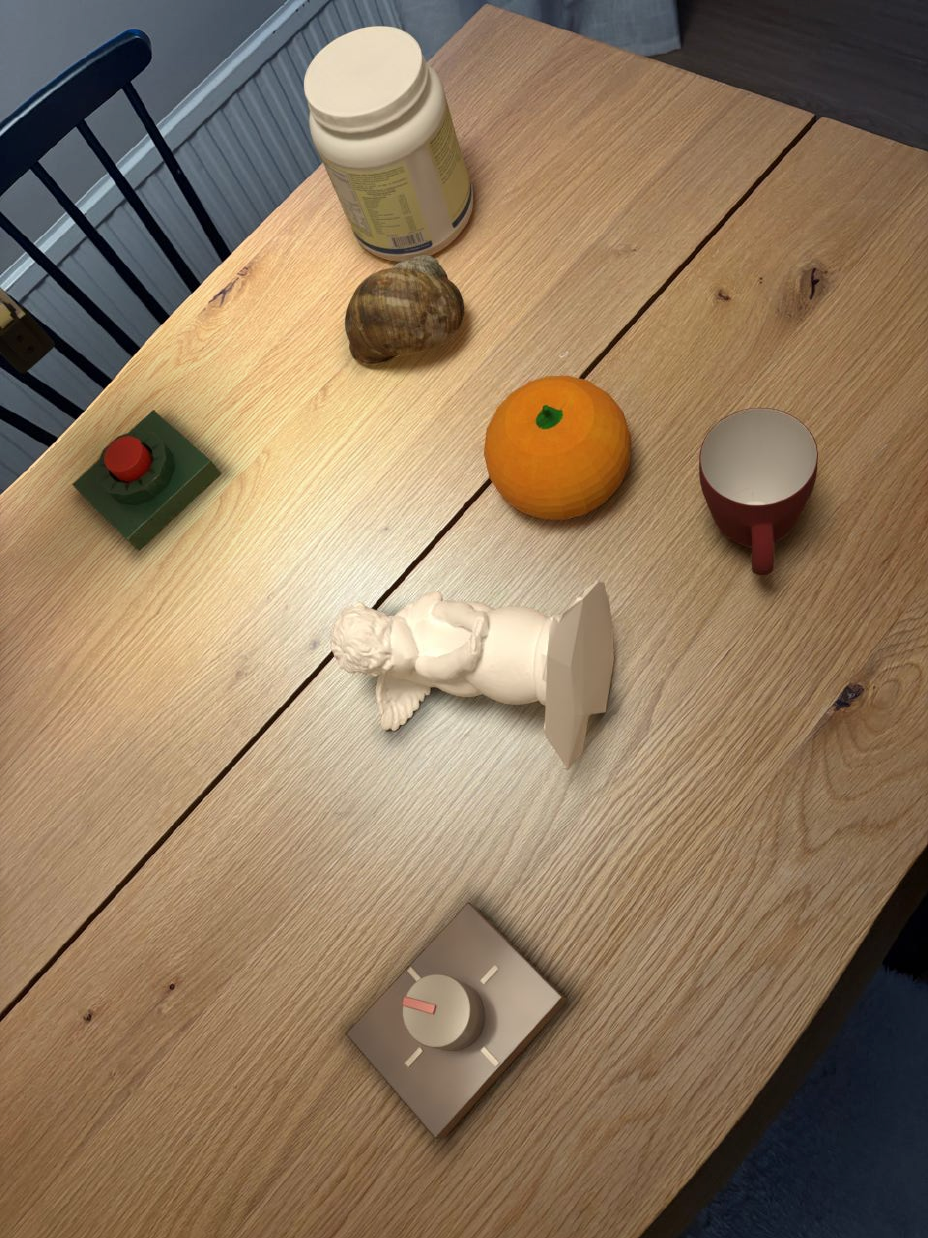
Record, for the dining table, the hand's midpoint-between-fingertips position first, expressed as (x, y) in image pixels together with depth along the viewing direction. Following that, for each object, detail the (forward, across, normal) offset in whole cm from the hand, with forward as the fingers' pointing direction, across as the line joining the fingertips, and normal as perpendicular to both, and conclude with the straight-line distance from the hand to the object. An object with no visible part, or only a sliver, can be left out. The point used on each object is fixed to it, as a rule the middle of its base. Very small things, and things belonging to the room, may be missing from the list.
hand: (2, 324), depth 78 cm
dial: (+21, +52, -11) cm, 58 cm away
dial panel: (+23, +52, -11) cm, 59 cm away
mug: (+24, +44, +30) cm, 58 cm away
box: (+24, -1, 0) cm, 24 cm away
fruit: (+24, +28, +24) cm, 44 cm away
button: (+20, -1, 0) cm, 20 cm away
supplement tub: (+24, -3, +36) cm, 43 cm away
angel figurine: (+24, +36, +6) cm, 44 cm away
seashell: (+24, +7, +26) cm, 36 cm away
